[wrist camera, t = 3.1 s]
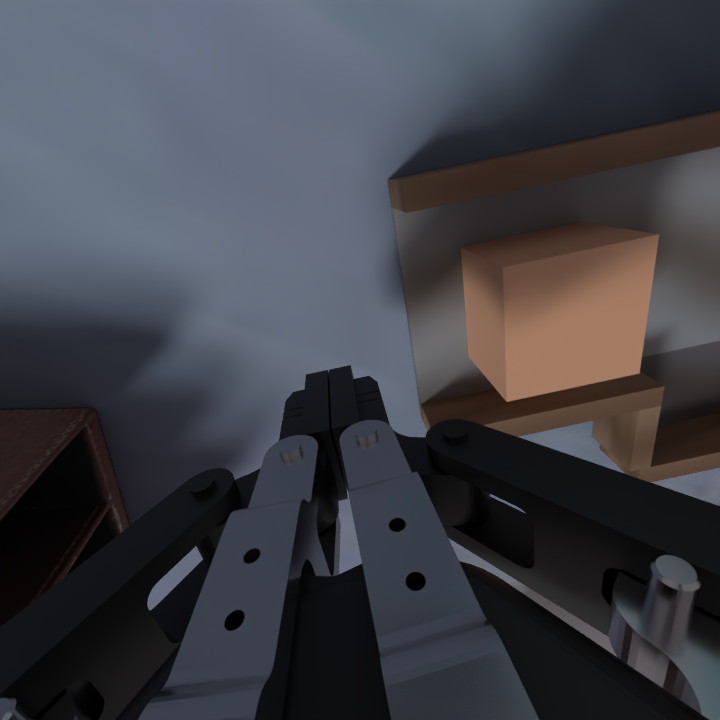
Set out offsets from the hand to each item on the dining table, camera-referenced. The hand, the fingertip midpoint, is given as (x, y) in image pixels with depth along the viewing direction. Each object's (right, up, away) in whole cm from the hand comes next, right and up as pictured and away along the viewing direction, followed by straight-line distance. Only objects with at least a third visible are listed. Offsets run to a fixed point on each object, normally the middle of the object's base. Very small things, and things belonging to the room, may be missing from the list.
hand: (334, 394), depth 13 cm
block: (+8, +4, +4) cm, 10 cm away
